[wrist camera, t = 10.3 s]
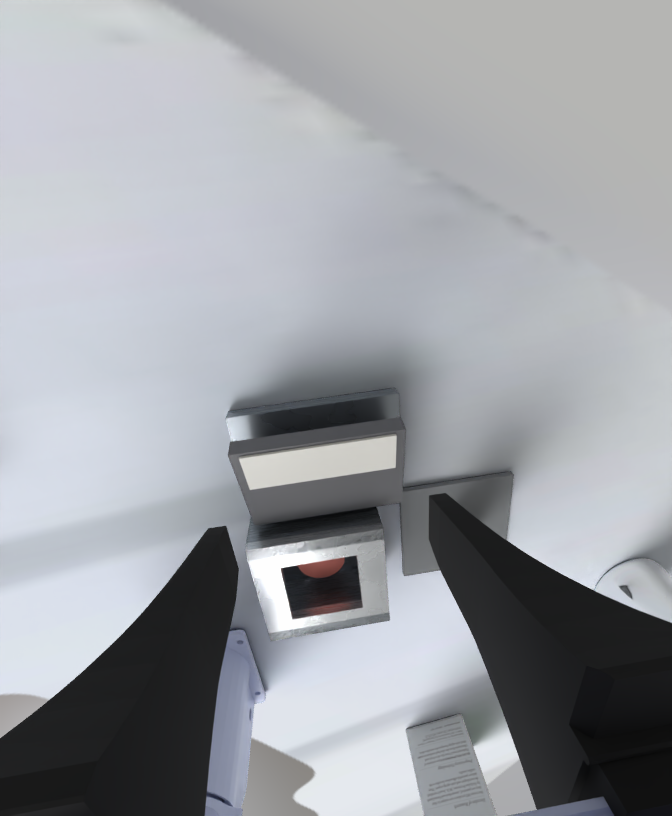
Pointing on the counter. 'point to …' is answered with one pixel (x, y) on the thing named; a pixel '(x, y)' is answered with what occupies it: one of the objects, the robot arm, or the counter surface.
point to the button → (322, 568)
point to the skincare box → (448, 770)
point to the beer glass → (640, 587)
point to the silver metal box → (318, 531)
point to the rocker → (321, 470)
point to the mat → (475, 494)
